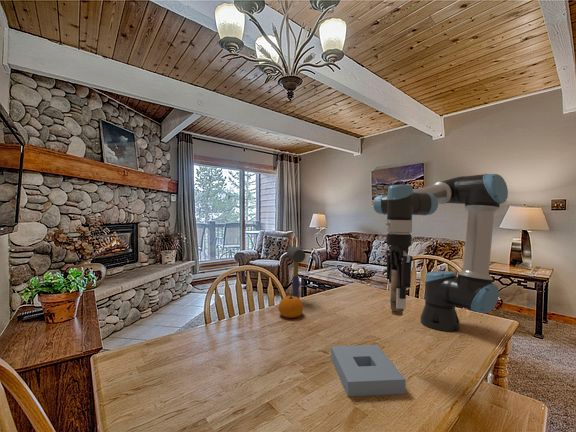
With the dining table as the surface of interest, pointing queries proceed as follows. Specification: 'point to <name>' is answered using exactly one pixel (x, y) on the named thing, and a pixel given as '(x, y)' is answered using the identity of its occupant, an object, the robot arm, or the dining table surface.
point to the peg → (394, 293)
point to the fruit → (290, 307)
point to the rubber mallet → (295, 267)
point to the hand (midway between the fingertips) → (397, 305)
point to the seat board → (366, 371)
